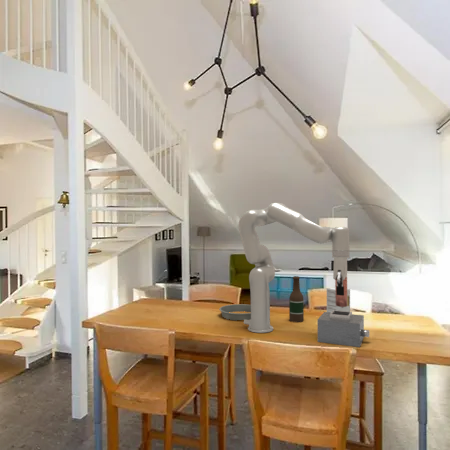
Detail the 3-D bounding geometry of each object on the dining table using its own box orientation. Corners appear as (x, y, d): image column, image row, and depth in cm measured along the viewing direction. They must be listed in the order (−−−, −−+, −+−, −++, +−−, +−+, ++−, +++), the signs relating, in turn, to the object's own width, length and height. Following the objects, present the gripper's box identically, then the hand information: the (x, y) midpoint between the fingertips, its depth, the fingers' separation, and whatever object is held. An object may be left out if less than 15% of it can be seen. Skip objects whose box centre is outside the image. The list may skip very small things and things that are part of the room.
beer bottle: (302, 318, 212) (301, 275, 212) (305, 322, 204) (305, 277, 204) (288, 318, 212) (287, 275, 212) (290, 322, 204) (290, 277, 204)
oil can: (334, 306, 173) (334, 273, 173) (336, 303, 178) (336, 271, 178) (346, 307, 171) (346, 273, 171) (348, 304, 176) (347, 272, 176)
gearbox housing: (317, 341, 172) (317, 315, 171) (324, 332, 186) (324, 307, 186) (367, 348, 163) (367, 319, 162) (370, 337, 177) (370, 311, 177)
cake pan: (270, 319, 213) (269, 311, 213) (229, 323, 204) (229, 315, 204) (250, 309, 236) (250, 302, 236) (213, 313, 227) (213, 305, 227)
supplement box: (340, 322, 205) (340, 290, 205) (326, 318, 212) (325, 288, 212) (350, 319, 211) (350, 288, 211) (336, 315, 218) (336, 286, 218)
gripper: (335, 252, 184) (335, 290, 184) (328, 255, 168) (329, 296, 169) (351, 252, 181) (352, 291, 181) (346, 256, 165) (347, 298, 165)
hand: (341, 293), depth 175 cm, fingers closed on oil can, 5 cm apart
